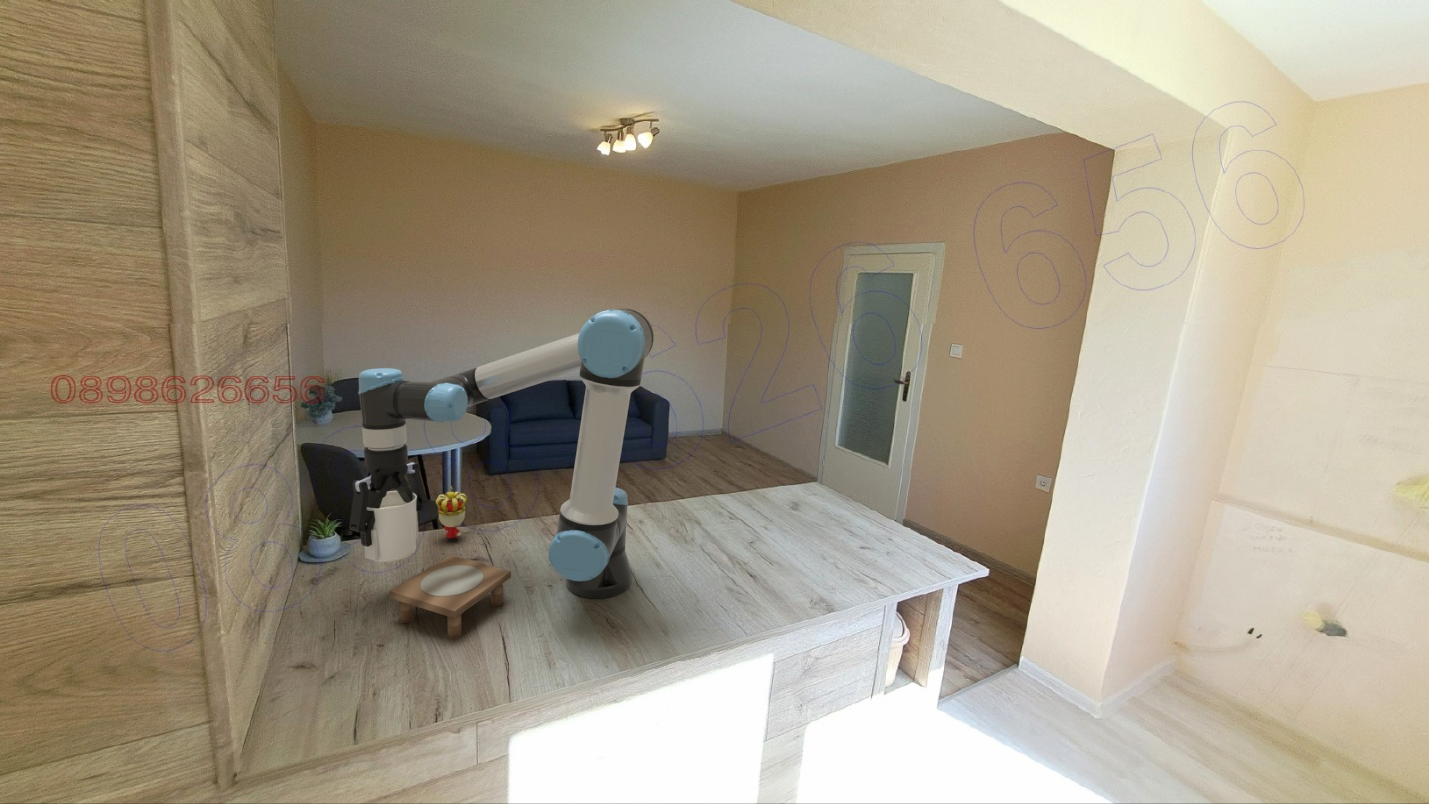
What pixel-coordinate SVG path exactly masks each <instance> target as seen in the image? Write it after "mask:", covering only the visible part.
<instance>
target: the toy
mask: <svg viewBox="0 0 1429 804" xmlns="http://www.w3.org/2000/svg"><path fill="white" fill-rule="evenodd" d="M450 489H451V491H447V492H445V494H444V493H443V494H439V495H438V496H437V498H436V500H435V504H436V506H437V508H438V509H437V514H438V519H439V521H440V523H441V525H443V526H444V527H443V529H444V530H445V531H447V532H446V534H445V537H446V538H447V540H448V541H450V542H451V543H456V542H458V541H459V540H458V537H460V536H461V535H462V531H461V530H460V529H458V528H457V526H460V525H461V524H462V523H463V522H464V520H465V518H466V506H465V505H466V502H467V499H468V497H467V495H466V494H465V493H461V492H459V491H455V492H454V491H453V490H454V488H453V486H452V485H451V486H450ZM461 500H462V501H461Z"/></svg>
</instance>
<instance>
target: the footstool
mask: <svg viewBox="0 0 1429 804" xmlns="http://www.w3.org/2000/svg"><path fill="white" fill-rule="evenodd" d="M510 579H512V571H511V570H507V569H505V568H501V567H500V568H499V567H497V566H493V565H488V564H485V563H482V562H478V561H475V560H471V559H467V558H464V557H459V556H456V555H452V554H450V555H449V556H446V557H445V558H444V559H441V560H440V561H438V562H436V563H434V564H433V565H431V566H429V567H428V568H426V569H424V570H423V571H420V572H419V573H417V574H415V575H413V576H412V577H411V578H409V579H406V580H405V581H402V583H399V584H398V585H396V586H395V587H393V588H391V589H390V590H388V598H389V599H391V600H394V601H397V602H398V610H399V611H398V612H399V614H398V616H399V623H401V624H408V623H410V622H412V621H413V620H414V606H415V607H418V608H421V609H424V610H427V611H429V612H434V613H437V614H439V615H443V616H446V617H447V618H446V619H447V620H446V621H447V622H446V623H447V638H448V639H449V640H456V639H459V638H461V636H462V614H463V613H464V612H466V611H467V610H468V609H470V608H471V607H472V606H474V605H475V604H477V603H478V602H479V601H481V600H482V599H483V598H485V597H486V596H488V595H489V594H490V604H491V606H493V607H499V606H501V605H503V603H504V583H505V582H507V581H508V580H510Z"/></svg>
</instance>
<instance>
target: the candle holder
mask: <svg viewBox="0 0 1429 804" xmlns="http://www.w3.org/2000/svg"><path fill="white" fill-rule="evenodd" d="M412 496H413V501H411V502H409V503H406V502H404V501H403V499H402V498H401V496H400V495H399V493H398V492H397V490H390V491H388V492H387V494H386V496H385V497H384V498H383V499H382V502H381V505H380V508H379V509H376V508H368V507H367V510H369V511H373V510H374V515H375V523H374V526H373V529H377V539H378V552H379V559H378V560H376V561H375V562H379V563H390V562H397V561H400V560H403V559H406V558H409V557H410V556H412V555H413V554H414V553H415V551H416V550H417V540H416V502H417V496H416V494H415V493H412ZM366 524H367V523H366Z"/></svg>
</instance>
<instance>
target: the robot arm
mask: <svg viewBox="0 0 1429 804" xmlns="http://www.w3.org/2000/svg"><path fill="white" fill-rule="evenodd" d="M654 340H655V334H654V329H653V327H652V325H651V323H650V321H649V319H648V318H647V317H646V316H644V314H642V313H641V312H639V311H637V310H635V309H631V308H618V309H607V310H604V311H599V312H598V313H596V314H594V315H593V316H591V317H590V318H589V319H588V320H587V321H585V323H584V324H583V326H582V327H581V329H580V332H579V333H578V332H577V333H575V334H572V335H569V336H567V337H563V338H560V339H557V340H554V341H552V342H547V343H546V344H542V345H539V346H537V347H534V348H531V349H527V350H525V351H521V352H519V353H515V354H514V355H513V354H512V355H509V356H506V357H504V358H500V359H497V360H495V361H492V362H489V363H485V364H483V365H480V366H477V367H474V368H471V369H469V370H464V371H462V372H461V371H460V372H458V373H455V374H452V375H450V376H445V377H443V378H439V379H436V380H433V381H427V382H424V381H409V380H405V378H404V376H403V374H404V373H403V372H402V371H401V370H400V369H398V368H391V367H390V368H389V367H388V368H387V367H384V368H383V367H381V368H380V367H379V368H370V369H366V370H363V371H361V372H360V373H359V375H358V397H359V405H360V406H359V407H360V414H361V430H362V431H361V432H362V442H363V446H364V447H365V448H364V449H363V457H364V465H365V467H366V470H367V473H366V476H365V477H364V478H363V479H361V480H356V479H355V480H353V481H352V483H351V485H352V490H353V497H352V503H351V511H350V512H351V513H350V517H349V518H350V520H349V526H348V529H349V530H350V531H354V532H358V533H360V534H359V535H360V544H361V545H362V546H363V547H364V556H365V559H368V560H371V561H375V562H377V561H376V560H378V559H379V552H378V539H377V529H373V526H374V523H375V515H374V510H373V511H369V510H367V507H368V508H376V509H379V508H380V505H381V502H382V499H383V498H384V497H385V496H386V494H387V492H389V491H392V490H393V489H395V491H397V492H398V493H399V495H400V496H401V498H402V499H403V501H404V502H406V503H409V502H411V501H413V496H412V493H415V494H416V496H417V502H416V541H418V540H419V538H420V537H419V536H420V535H419V523H420V521H421V520H420V519H421V518H420V511H423V509H424V505H426V504H427V503H428V499H427V496H426V492H425V488H424V484H423V481H422V478H421V475H420V471H421V465H420V464H419V463H416V462H413V461H412V462H411V461H409V453H408V452H409V451H408V445H407V444H406V443H407V442H408V437H407V436H408V435H407V423H406V422H407V421H406V420H416V421H428V422H430V421H431V422H437V423H445V422H447V423H448V422H458V421H459V420H461V419H462V418H463V416H464V415H465V414H466V412H467V408H469V407H472V406H474V405H477V404H481V403H484V402H486V401H490V400H492V399H495V398H498V397H501V396H505V395H507V394H510V393H513V392H517V391H520V390H523V389H526V388H529V387H533V386H536V385H538V384H541V383H542V384H543V383H545V382H548V381H551V380H553V379H554V380H555V379H557V378H561V377H563V376H567V375H570V374H573V373H576V372H579V376H578V377H579V379H580V380H581V381H582V382H583V384H585V393H584V400H583V405H582V410H581V411H582V413H581V420H580V425H579V433H578V440H577V445H576V446H577V447H576V454H575V461H574V467H573V473H572V474H573V475H572V482H571V489H570V495H569V499H568V500H566V501H564V502H563V503H562V504H561V506H560V509H559V518H558V522H557V523H558V524H557V529H556V533H555V535H554V537H552V539H551V540H550V543H549V547H548V551H547V554H548V560H549V563H550V565H551V566H552V568H553V569H554V570H555V571H556V572H557V574H558V575H560V576H562V577H563V578H565V584H566V589H568V590H569V591H570V592H571V593H572V594H574V595H577V596H578V597H581V598H587V599H605V598H606V599H607V598H611V597H615V596H617V595H619V594H622V593H623V592H625V591H626V590H627V589H628V588H629V587H630V585H631V583H632V569H631V565H630V562H629V559H628V555H627V552H626V543H627V541H626V537H627V536H626V535H627V522H628V521H627V519H628V518H627V517H628V506H629V501H628V494H627V492H626V491H625V490H623V489H622V488H619V487H616V486H617V480H618V473H619V467H620V462H621V461H620V460H621V455H622V448H623V444H624V443H623V442H624V437H625V430H626V424H627V419H628V411H629V407H630V399H631V394H632V392H634V391H635V390H636V389H638V388H640V386H641V380H642V377H643V376H642V375H643V372H644V371H643V370H644V364H645V359H646V358H647V356H649V354H650V352H651V351H652V349H653V346H654ZM366 523H367V524H366Z"/></svg>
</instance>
